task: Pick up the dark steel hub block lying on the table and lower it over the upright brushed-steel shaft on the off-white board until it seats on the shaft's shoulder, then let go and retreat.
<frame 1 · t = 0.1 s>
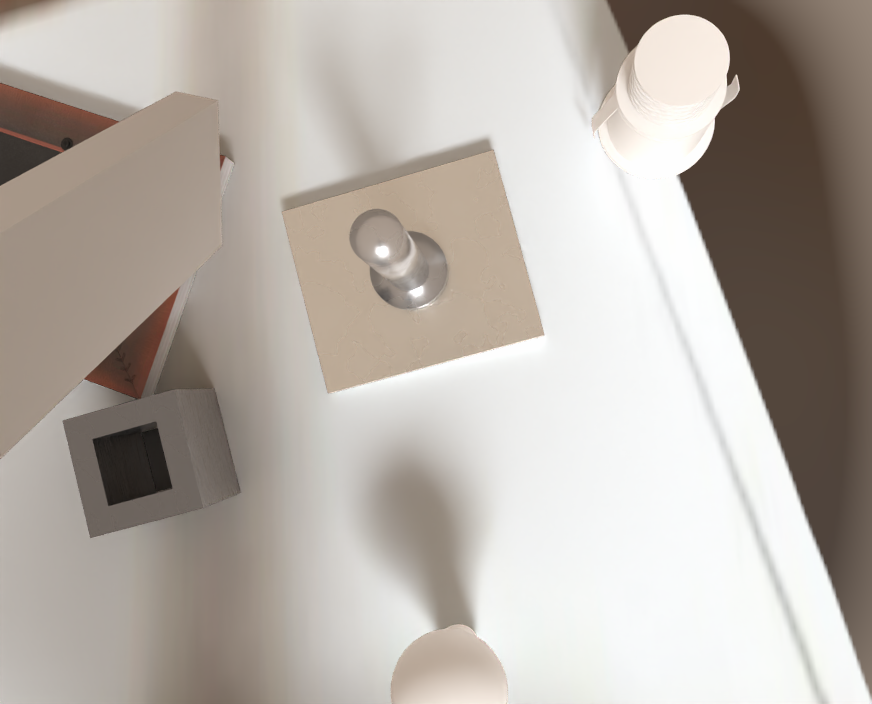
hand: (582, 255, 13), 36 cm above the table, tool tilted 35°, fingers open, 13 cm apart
picture frame: (56, 233, 53), on the table
hub: (177, 454, 51), on the table
shaft: (412, 274, 50), on the table
lightbulb: (460, 639, 49), on the table
downlight: (652, 125, 49), on the table
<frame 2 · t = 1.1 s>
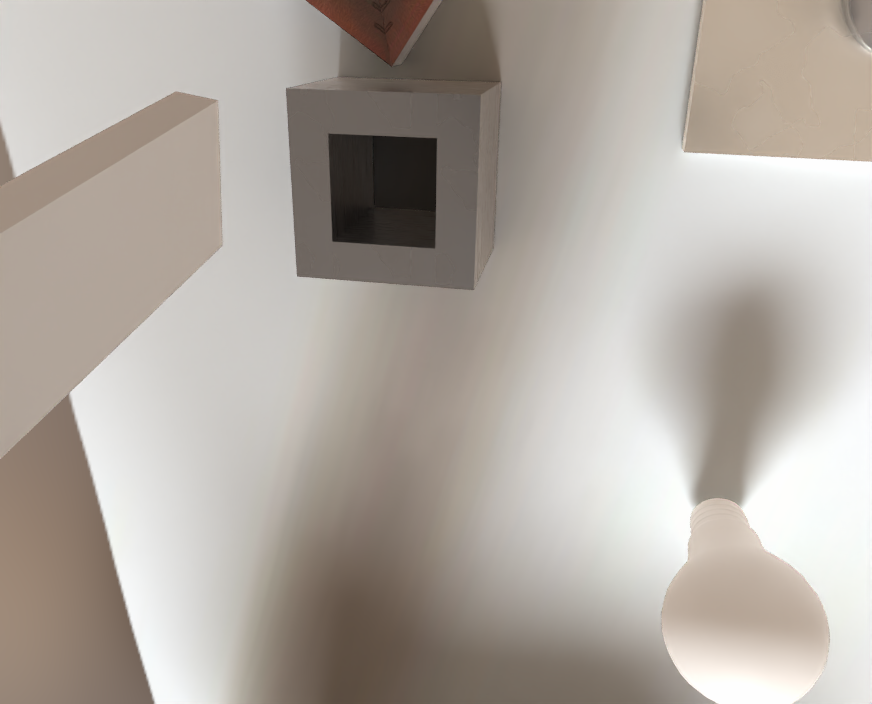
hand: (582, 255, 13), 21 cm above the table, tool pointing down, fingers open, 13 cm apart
hub: (417, 164, 34), on the table
lightbulb: (714, 508, 38), on the table
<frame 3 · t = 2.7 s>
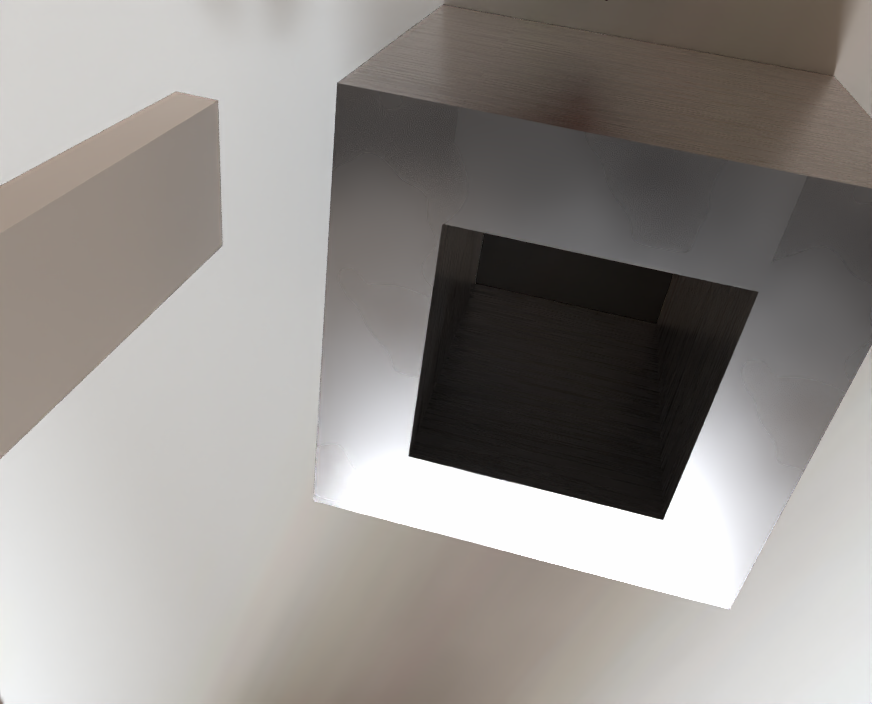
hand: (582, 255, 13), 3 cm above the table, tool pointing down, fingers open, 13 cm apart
hub: (586, 219, 16), on the table
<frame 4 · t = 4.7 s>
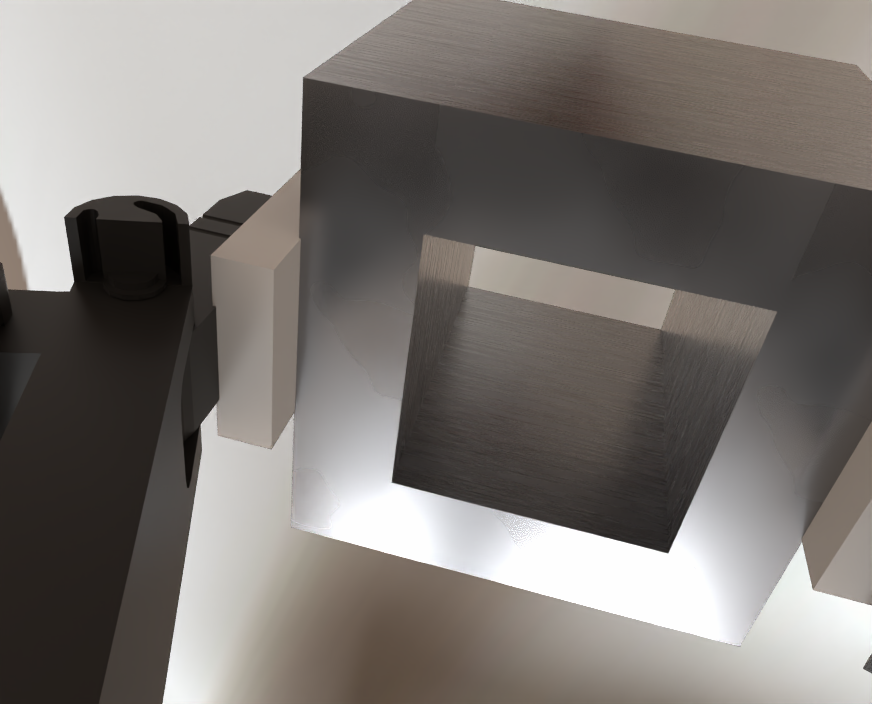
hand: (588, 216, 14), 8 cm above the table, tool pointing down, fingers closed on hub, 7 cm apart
hub: (586, 219, 15), point 8 cm above the table, touching gripper
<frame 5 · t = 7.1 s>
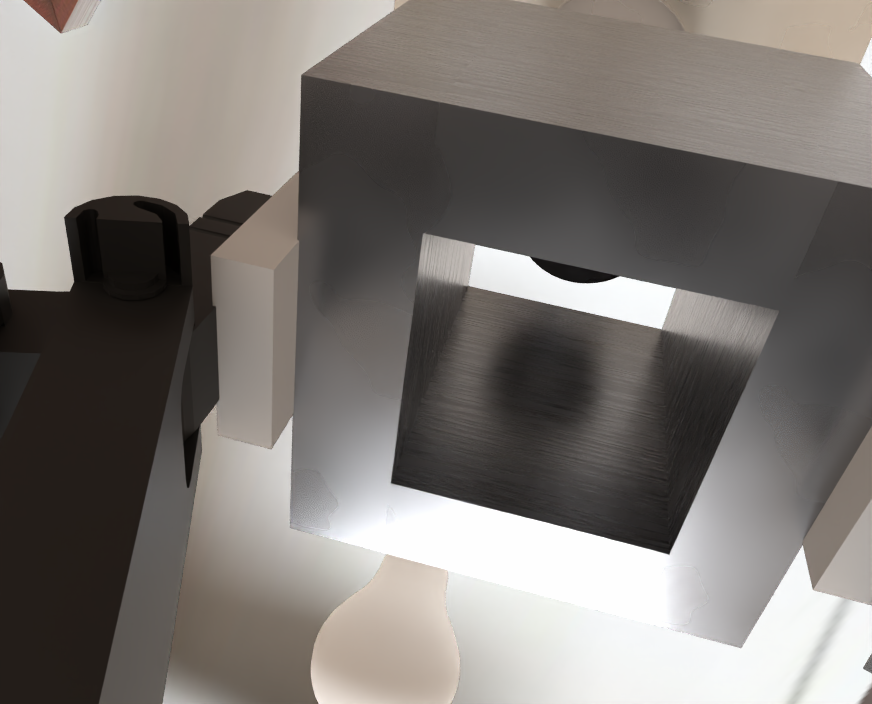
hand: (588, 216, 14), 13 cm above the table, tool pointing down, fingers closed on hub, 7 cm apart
hub: (586, 218, 15), point 13 cm above the table, touching gripper
shaft: (610, 59, 25), on the table
lightbulb: (430, 522, 38), on the table
when the fingers open (2 cm above the table, at t = 9.2 s): hub stays where it is, resting on shaft.
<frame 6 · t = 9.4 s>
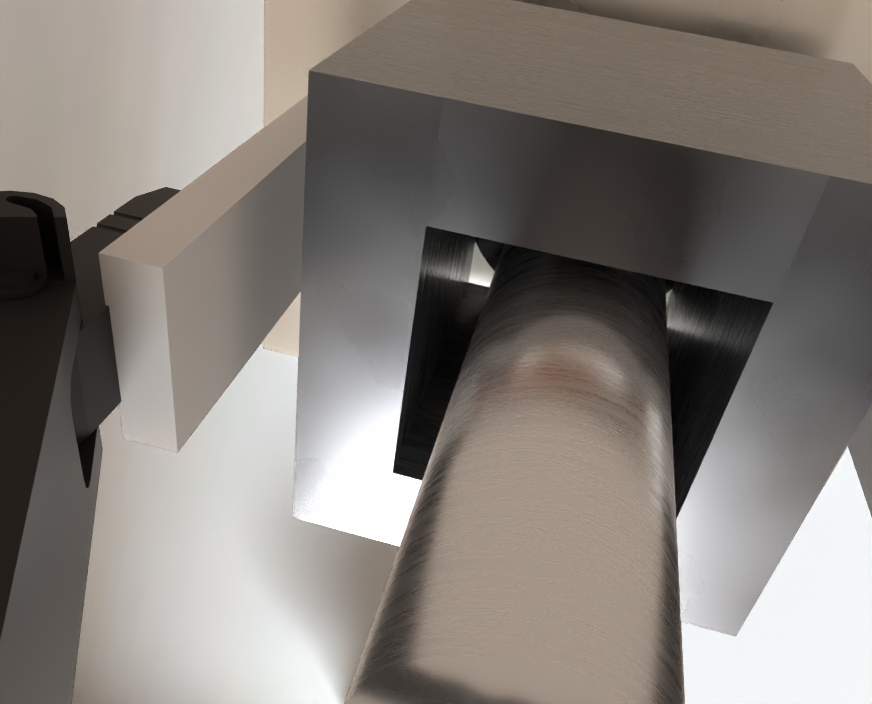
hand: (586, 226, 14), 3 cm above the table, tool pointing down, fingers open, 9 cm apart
hub: (585, 215, 15), point 2 cm above the table, touching shaft
shaft: (595, 168, 16), on the table
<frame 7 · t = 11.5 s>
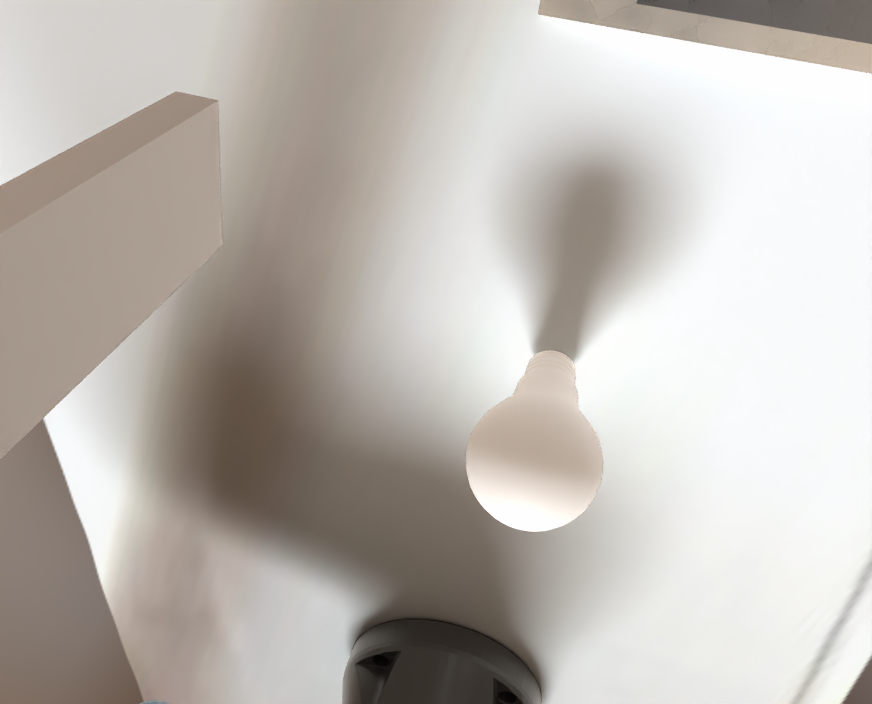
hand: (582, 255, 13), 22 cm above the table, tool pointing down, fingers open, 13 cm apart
lightbulb: (553, 359, 41), on the table
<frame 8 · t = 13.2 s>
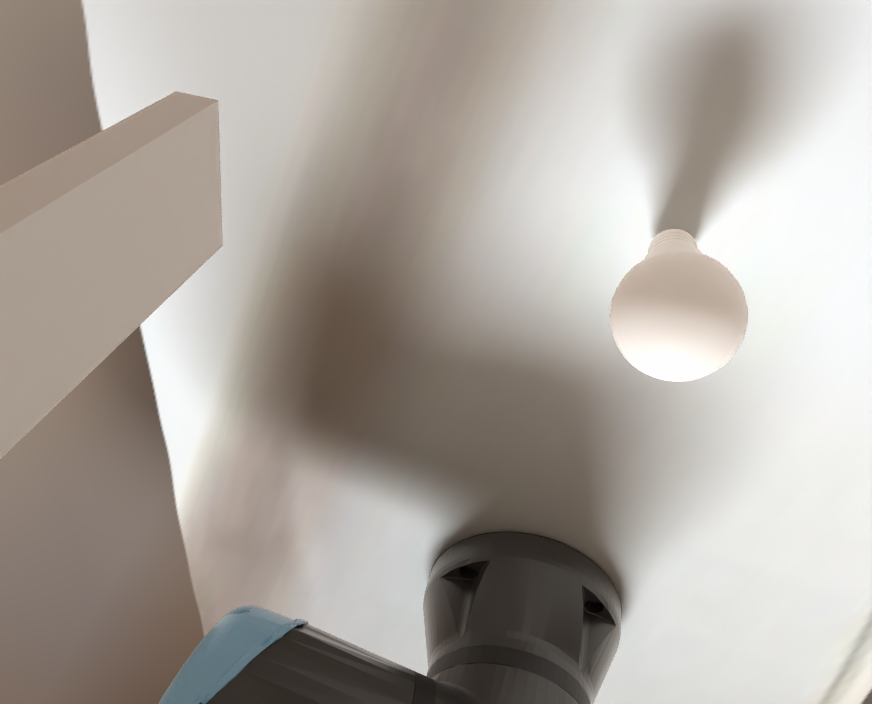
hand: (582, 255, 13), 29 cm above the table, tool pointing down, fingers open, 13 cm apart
lightbulb: (672, 242, 43), on the table
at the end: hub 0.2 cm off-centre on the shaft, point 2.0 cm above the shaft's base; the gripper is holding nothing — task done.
